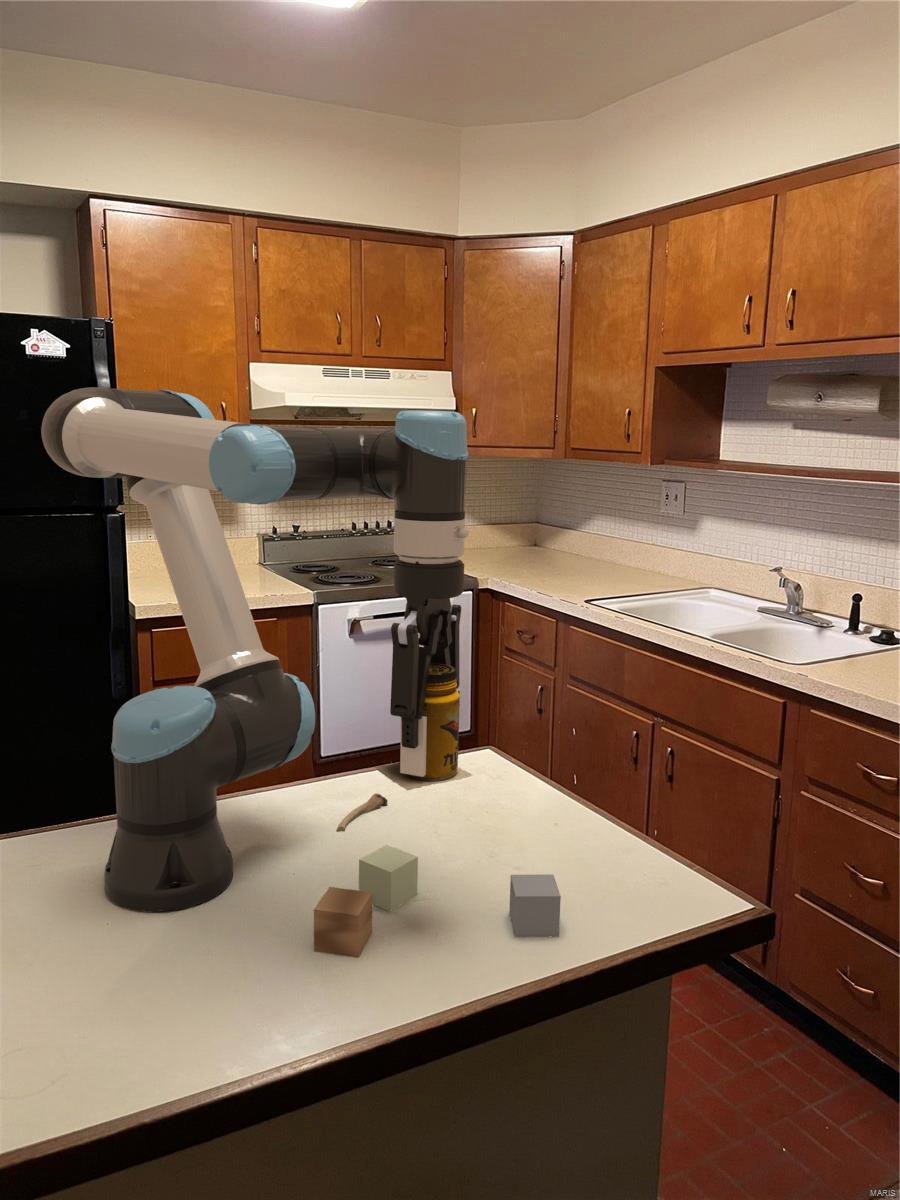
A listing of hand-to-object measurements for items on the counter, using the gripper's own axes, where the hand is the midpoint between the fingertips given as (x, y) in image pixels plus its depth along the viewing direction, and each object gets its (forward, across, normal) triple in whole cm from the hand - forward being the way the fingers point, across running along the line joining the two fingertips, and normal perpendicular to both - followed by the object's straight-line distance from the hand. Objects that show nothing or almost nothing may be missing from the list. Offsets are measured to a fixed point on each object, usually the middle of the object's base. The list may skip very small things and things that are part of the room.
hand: (425, 763), depth 101 cm
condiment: (+1, -1, 0) cm, 1 cm away
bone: (+19, +22, +20) cm, 35 cm away
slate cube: (+19, +4, -12) cm, 23 cm away
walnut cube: (+19, -8, +6) cm, 21 cm away
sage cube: (+19, +3, +6) cm, 20 cm away
